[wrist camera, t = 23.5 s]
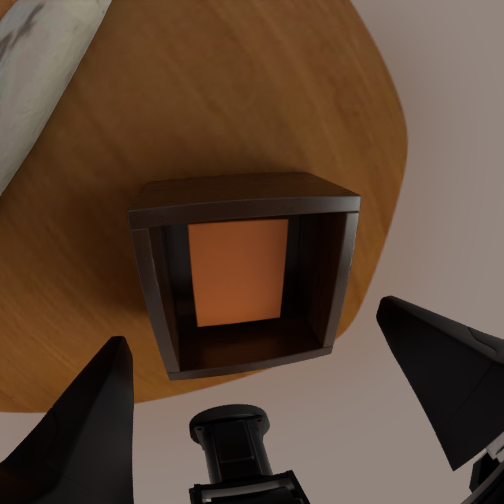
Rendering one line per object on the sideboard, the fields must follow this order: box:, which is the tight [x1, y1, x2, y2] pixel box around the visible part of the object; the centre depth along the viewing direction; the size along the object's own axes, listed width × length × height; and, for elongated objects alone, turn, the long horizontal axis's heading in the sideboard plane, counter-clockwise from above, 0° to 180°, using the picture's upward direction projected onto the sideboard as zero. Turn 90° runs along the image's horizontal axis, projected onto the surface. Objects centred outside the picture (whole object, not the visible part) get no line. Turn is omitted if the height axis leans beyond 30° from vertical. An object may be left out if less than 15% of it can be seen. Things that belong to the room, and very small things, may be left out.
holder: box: [127, 173, 361, 381], centre depth 12 cm, size 8×8×4 cm
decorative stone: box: [0, 0, 112, 196], centre depth 6 cm, size 6×16×3 cm, turn 145°
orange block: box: [187, 215, 288, 327], centre depth 12 cm, size 5×4×2 cm
